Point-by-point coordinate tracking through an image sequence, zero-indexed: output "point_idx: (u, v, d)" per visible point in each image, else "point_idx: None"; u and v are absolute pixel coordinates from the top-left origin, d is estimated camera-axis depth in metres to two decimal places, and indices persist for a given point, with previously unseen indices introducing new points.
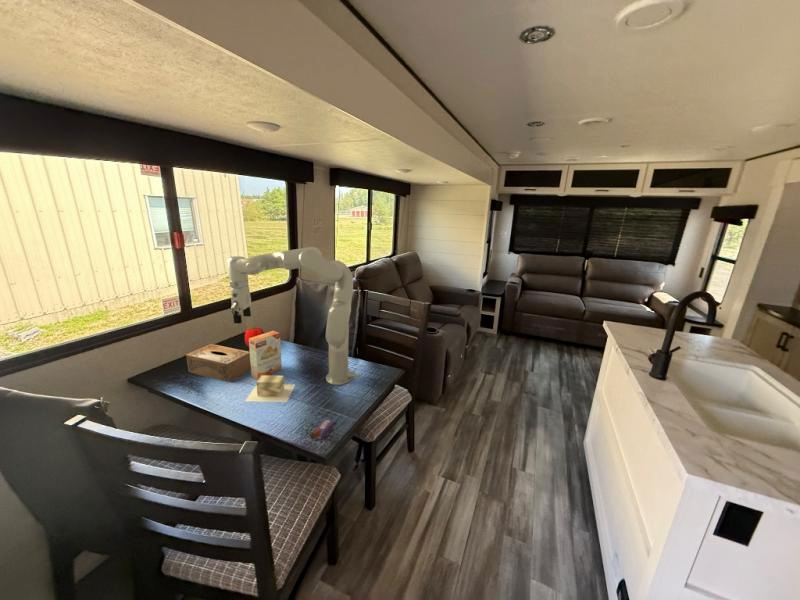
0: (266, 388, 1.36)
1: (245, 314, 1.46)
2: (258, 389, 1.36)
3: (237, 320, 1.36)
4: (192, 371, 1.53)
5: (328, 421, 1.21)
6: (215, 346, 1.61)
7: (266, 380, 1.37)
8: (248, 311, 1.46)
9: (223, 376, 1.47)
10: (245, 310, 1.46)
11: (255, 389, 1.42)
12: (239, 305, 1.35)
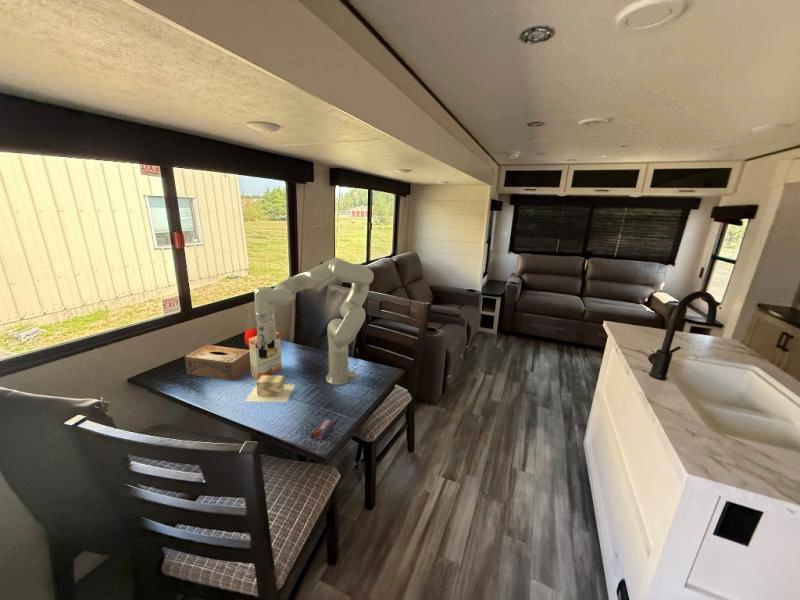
0: (266, 388, 1.36)
1: (269, 346, 1.38)
2: (258, 389, 1.36)
3: (262, 355, 1.28)
4: (191, 373, 1.51)
5: (328, 421, 1.21)
6: (213, 347, 1.60)
7: (266, 380, 1.37)
8: (272, 343, 1.38)
9: (227, 375, 1.48)
10: None
11: (255, 389, 1.42)
12: (265, 339, 1.27)
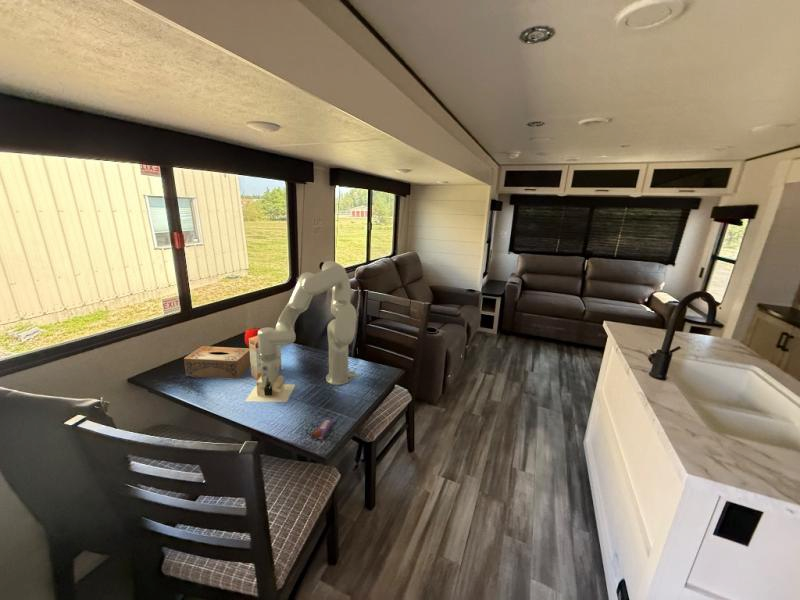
0: None
1: None
2: (258, 389, 1.36)
3: (268, 393, 1.35)
4: (191, 374, 1.50)
5: (328, 421, 1.21)
6: (209, 348, 1.59)
7: None
8: None
9: (231, 373, 1.49)
10: None
11: (255, 389, 1.42)
12: (269, 380, 1.33)
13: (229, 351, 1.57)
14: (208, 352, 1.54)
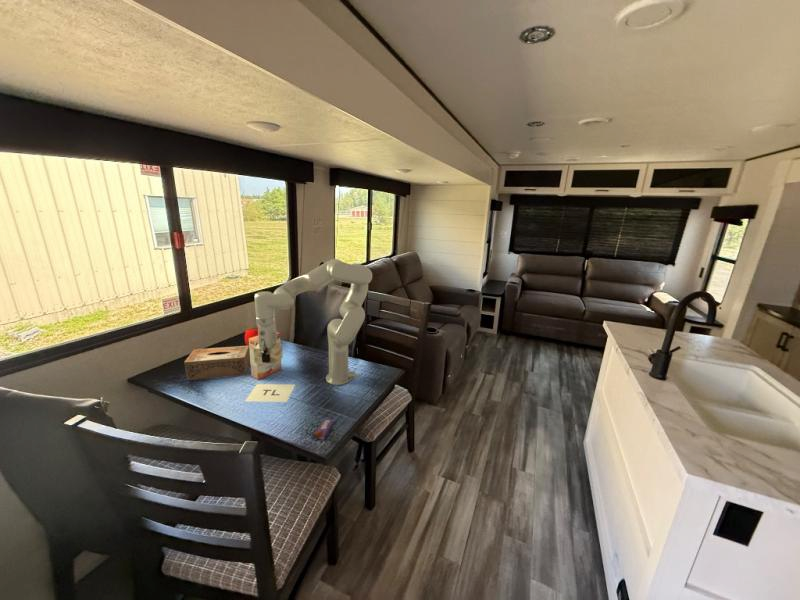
0: None
1: None
2: (255, 356, 1.31)
3: (266, 359, 1.31)
4: (193, 378, 1.47)
5: (328, 421, 1.21)
6: (204, 350, 1.57)
7: None
8: None
9: (238, 370, 1.52)
10: None
11: (255, 389, 1.42)
12: (267, 345, 1.29)
13: (228, 350, 1.58)
14: (206, 353, 1.53)
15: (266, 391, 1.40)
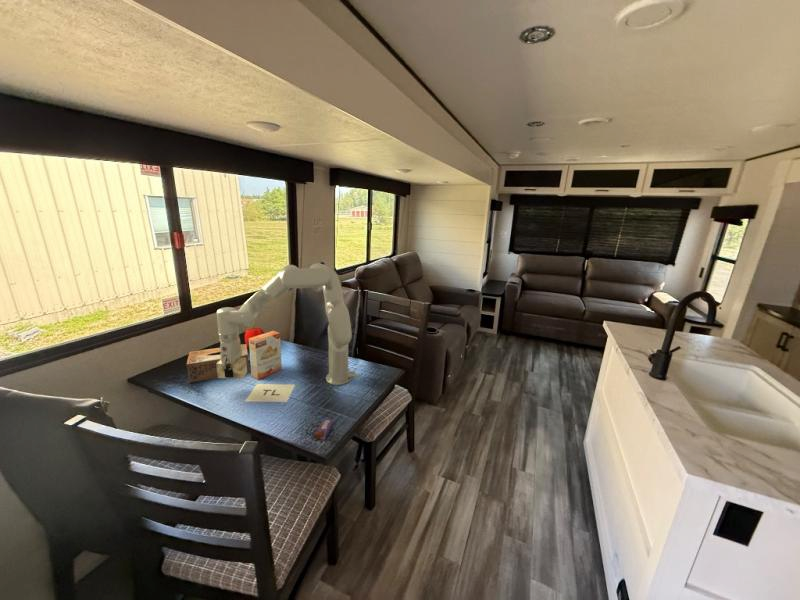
0: None
1: None
2: (218, 371, 1.32)
3: (228, 374, 1.31)
4: (195, 379, 1.46)
5: (328, 421, 1.21)
6: (201, 351, 1.55)
7: None
8: None
9: None
10: None
11: (255, 389, 1.42)
12: (229, 361, 1.29)
13: None
14: (206, 354, 1.52)
15: (266, 391, 1.40)
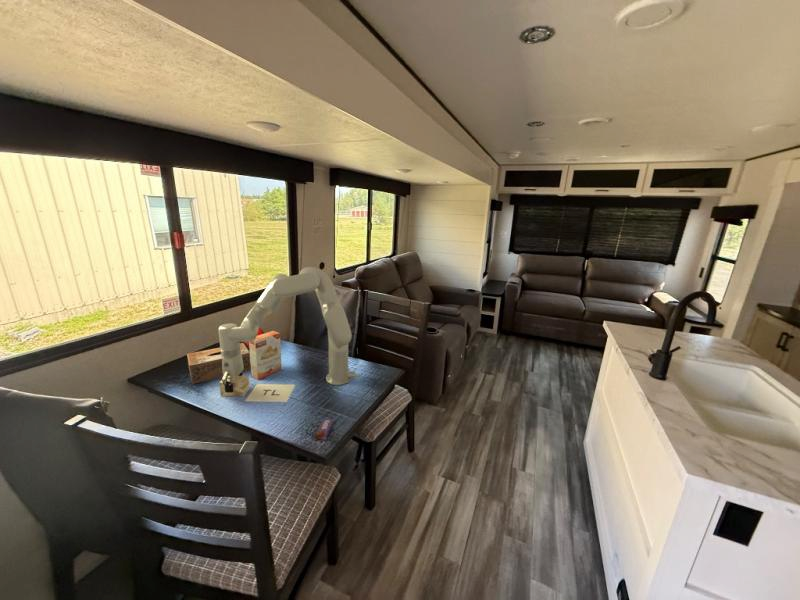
0: None
1: None
2: (221, 389, 1.35)
3: (228, 390, 1.32)
4: (198, 380, 1.45)
5: (328, 421, 1.21)
6: (199, 353, 1.53)
7: (229, 380, 1.36)
8: None
9: (244, 366, 1.57)
10: (237, 375, 1.41)
11: (255, 389, 1.42)
12: (230, 375, 1.31)
13: None
14: (206, 355, 1.51)
15: (266, 391, 1.40)
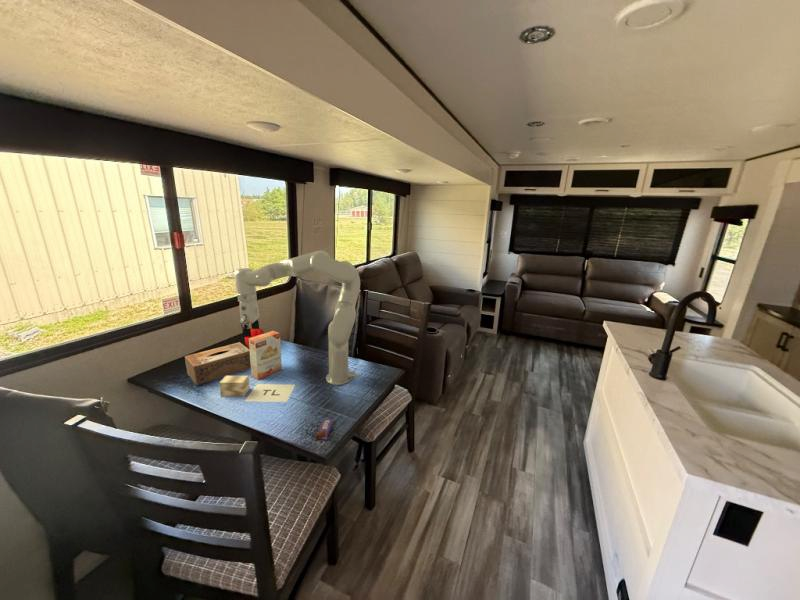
0: (230, 389, 1.35)
1: (253, 327, 1.43)
2: (221, 389, 1.35)
3: (247, 334, 1.33)
4: (202, 381, 1.44)
5: (328, 421, 1.21)
6: (197, 354, 1.52)
7: (230, 380, 1.36)
8: (256, 323, 1.43)
9: (245, 364, 1.59)
10: (253, 323, 1.43)
11: (255, 389, 1.42)
12: (248, 318, 1.32)
13: (225, 349, 1.59)
14: (206, 356, 1.50)
15: (266, 391, 1.40)
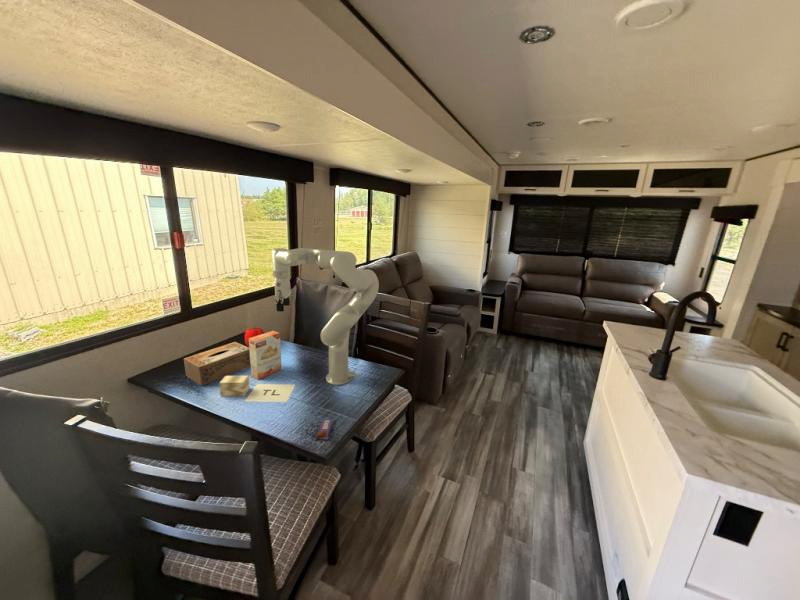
0: (230, 389, 1.35)
1: (284, 303, 1.55)
2: (221, 390, 1.35)
3: (280, 308, 1.45)
4: (207, 381, 1.44)
5: (328, 421, 1.21)
6: (196, 355, 1.50)
7: (230, 380, 1.35)
8: (287, 300, 1.55)
9: (246, 363, 1.60)
10: (285, 299, 1.54)
11: (255, 389, 1.42)
12: (282, 294, 1.44)
13: (223, 349, 1.59)
14: (207, 356, 1.50)
15: (266, 391, 1.40)
